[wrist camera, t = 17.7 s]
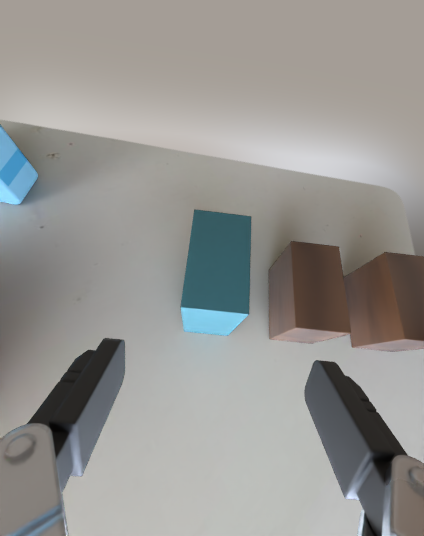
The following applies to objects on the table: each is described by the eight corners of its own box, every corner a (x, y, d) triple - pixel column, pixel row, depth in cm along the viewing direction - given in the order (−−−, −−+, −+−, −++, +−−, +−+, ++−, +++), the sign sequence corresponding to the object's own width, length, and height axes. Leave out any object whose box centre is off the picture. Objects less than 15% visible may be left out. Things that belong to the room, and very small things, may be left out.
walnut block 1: (306, 274, 29) (339, 246, 23) (312, 343, 26) (352, 333, 19) (268, 270, 29) (290, 240, 22) (269, 339, 25) (295, 328, 19)
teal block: (232, 266, 29) (252, 216, 19) (228, 335, 25) (249, 314, 16) (192, 262, 28) (194, 209, 19) (183, 331, 25) (180, 307, 16)
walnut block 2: (379, 282, 29) (431, 257, 23) (393, 351, 26) (459, 345, 20) (341, 278, 29) (384, 251, 23) (351, 347, 26) (404, 339, 19)
